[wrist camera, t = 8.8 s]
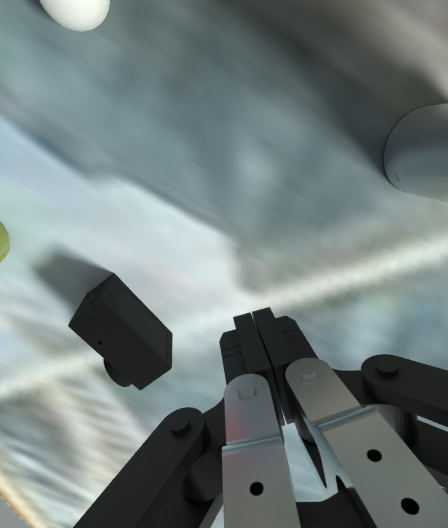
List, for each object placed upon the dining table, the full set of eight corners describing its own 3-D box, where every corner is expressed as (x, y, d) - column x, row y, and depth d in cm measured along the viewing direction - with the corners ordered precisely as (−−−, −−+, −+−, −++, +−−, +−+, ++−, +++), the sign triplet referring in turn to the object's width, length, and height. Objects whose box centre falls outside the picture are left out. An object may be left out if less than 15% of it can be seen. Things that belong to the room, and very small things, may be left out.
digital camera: (76, 299, 38) (56, 332, 32) (113, 272, 38) (100, 299, 31) (138, 358, 42) (131, 398, 35) (172, 333, 41) (171, 369, 35)
